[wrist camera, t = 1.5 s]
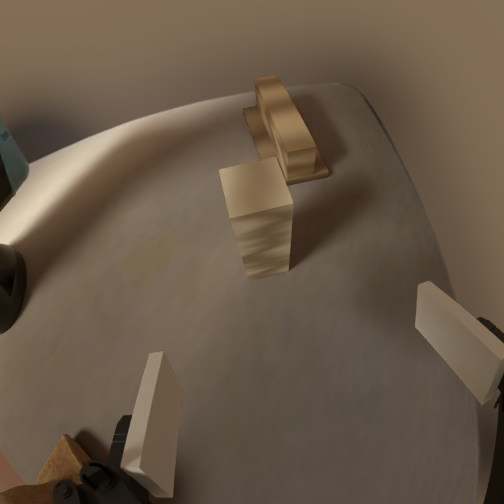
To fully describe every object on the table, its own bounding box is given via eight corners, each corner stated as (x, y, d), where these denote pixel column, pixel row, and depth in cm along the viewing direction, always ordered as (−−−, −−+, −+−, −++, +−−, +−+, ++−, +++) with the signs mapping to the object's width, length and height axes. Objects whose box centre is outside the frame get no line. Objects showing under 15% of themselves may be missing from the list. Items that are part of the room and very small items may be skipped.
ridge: (328, 176, 38) (334, 143, 32) (270, 189, 38) (267, 156, 32) (291, 104, 44) (291, 72, 38) (243, 113, 44) (239, 81, 38)
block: (249, 281, 33) (229, 218, 20) (240, 245, 35) (218, 169, 22) (288, 271, 33) (293, 203, 20) (278, 236, 35) (275, 156, 22)
